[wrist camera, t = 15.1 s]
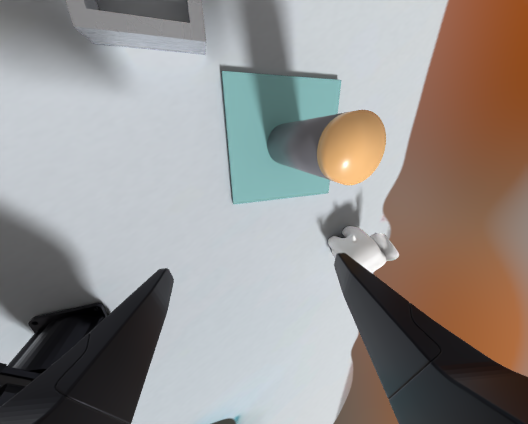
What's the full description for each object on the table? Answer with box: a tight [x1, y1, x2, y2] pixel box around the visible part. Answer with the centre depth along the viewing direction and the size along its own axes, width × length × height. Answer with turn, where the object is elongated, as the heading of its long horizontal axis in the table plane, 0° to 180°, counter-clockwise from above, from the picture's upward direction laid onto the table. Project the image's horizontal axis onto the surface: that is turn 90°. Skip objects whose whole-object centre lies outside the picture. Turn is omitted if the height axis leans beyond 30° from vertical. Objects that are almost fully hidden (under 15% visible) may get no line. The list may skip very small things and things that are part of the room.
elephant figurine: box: [328, 226, 399, 273], centre depth 28 cm, size 8×10×7 cm
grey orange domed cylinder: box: [267, 110, 386, 185], centre depth 16 cm, size 4×4×11 cm
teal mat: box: [222, 71, 341, 204], centre depth 21 cm, size 13×13×1 cm
